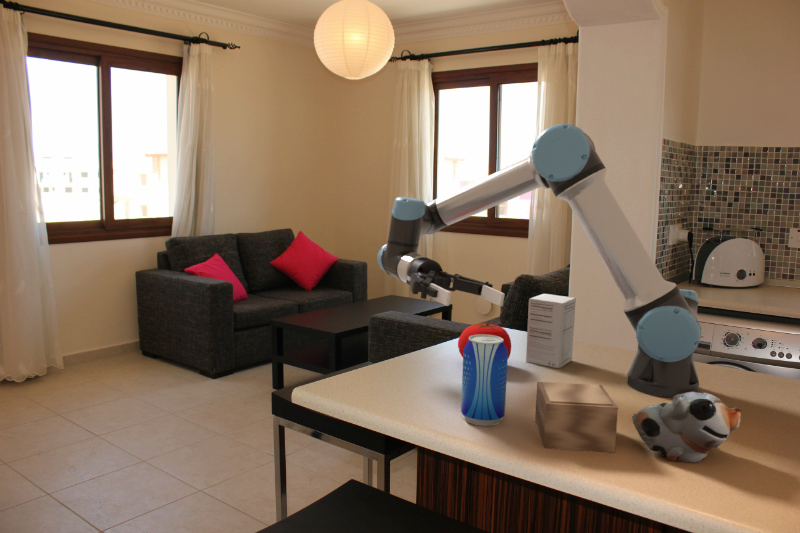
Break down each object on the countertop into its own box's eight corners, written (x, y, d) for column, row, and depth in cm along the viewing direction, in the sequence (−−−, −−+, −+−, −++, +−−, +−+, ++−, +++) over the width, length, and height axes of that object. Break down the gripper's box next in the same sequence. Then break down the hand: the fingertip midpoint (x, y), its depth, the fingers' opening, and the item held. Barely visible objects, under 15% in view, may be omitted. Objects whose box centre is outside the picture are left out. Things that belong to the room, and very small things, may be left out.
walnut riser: (598, 425, 118) (601, 383, 117) (614, 452, 106) (618, 406, 105) (534, 421, 119) (537, 380, 118) (543, 448, 107) (546, 402, 106)
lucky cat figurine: (687, 431, 116) (732, 377, 110) (718, 483, 106) (770, 427, 99) (619, 412, 113) (661, 356, 106) (644, 464, 103) (692, 405, 96)
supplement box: (539, 354, 167) (543, 292, 165) (572, 360, 162) (576, 297, 160) (524, 362, 160) (528, 297, 158) (559, 369, 154) (563, 302, 152)
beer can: (503, 429, 115) (507, 345, 113) (458, 425, 117) (461, 342, 115) (505, 413, 123) (509, 334, 121) (463, 409, 125) (466, 331, 123)
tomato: (499, 376, 147) (501, 331, 146) (450, 367, 154) (451, 323, 152) (517, 364, 157) (520, 322, 156) (470, 356, 164) (472, 315, 162)
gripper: (461, 289, 149) (519, 317, 131) (370, 287, 136) (420, 317, 118) (467, 259, 148) (526, 283, 130) (375, 253, 135) (427, 279, 117)
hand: (476, 299), depth 124 cm, fingers open, 13 cm apart
